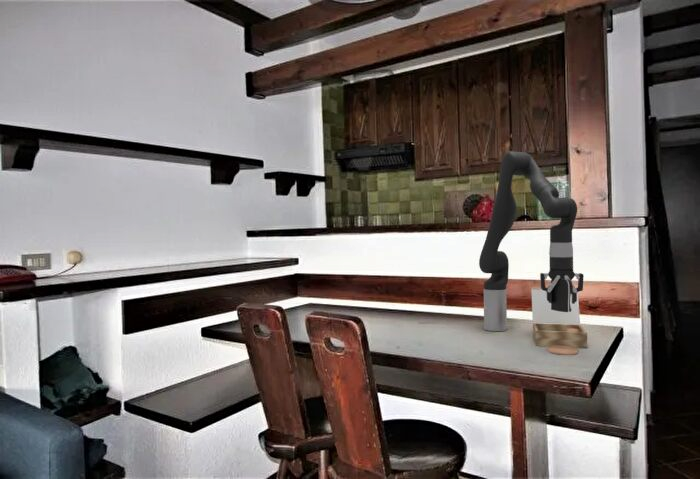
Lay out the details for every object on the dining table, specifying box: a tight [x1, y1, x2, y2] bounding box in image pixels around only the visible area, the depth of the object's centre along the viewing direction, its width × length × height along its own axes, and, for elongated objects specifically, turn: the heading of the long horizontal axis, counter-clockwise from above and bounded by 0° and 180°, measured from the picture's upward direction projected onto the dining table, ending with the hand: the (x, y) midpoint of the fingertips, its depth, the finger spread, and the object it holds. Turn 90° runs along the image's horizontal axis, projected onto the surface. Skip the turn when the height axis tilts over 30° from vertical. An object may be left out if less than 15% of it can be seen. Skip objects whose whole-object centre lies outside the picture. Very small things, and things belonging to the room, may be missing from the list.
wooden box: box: [532, 322, 588, 349], centre depth 180 cm, size 17×14×6 cm
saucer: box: [546, 345, 579, 356], centre depth 168 cm, size 10×10×1 cm
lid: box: [530, 286, 581, 325], centre depth 189 cm, size 17×14×1 cm
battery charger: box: [550, 279, 573, 312], centre depth 167 cm, size 7×4×11 cm, turn 29°
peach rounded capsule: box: [567, 328, 578, 332], centre depth 182 cm, size 4×4×4 cm
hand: (561, 302), depth 167 cm, fingers closed on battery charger, 7 cm apart
